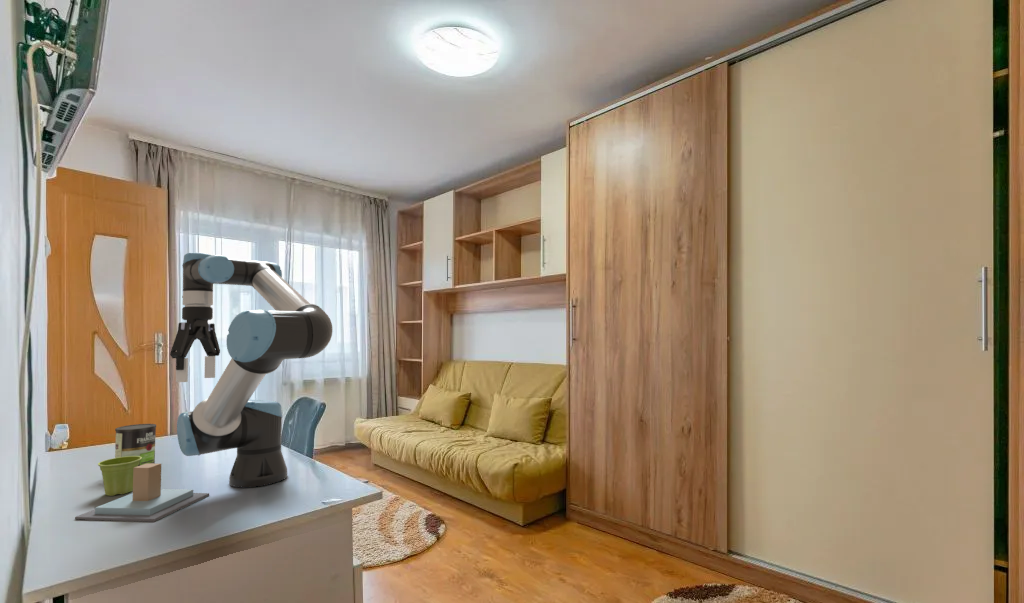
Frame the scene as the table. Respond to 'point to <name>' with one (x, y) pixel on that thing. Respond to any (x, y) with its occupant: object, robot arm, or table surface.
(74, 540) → the table surface
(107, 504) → the cover lid
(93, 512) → the mat
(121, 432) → the coffee can
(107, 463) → the plant pot
